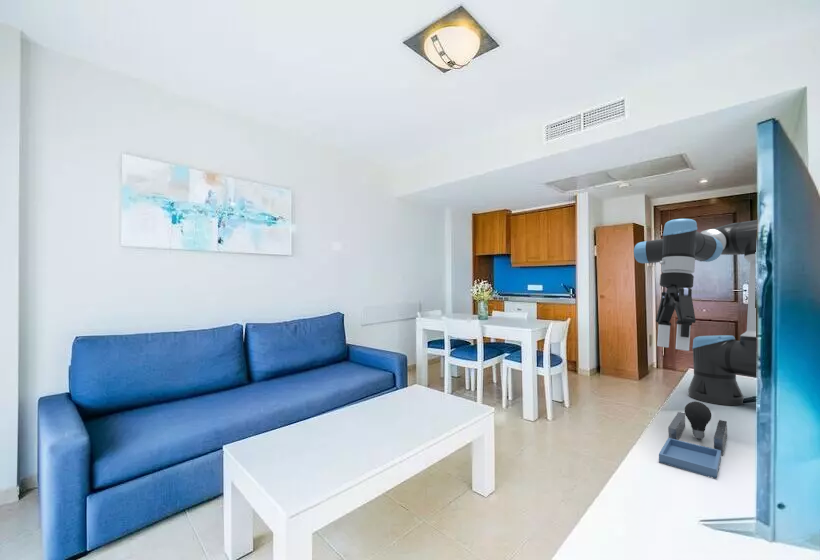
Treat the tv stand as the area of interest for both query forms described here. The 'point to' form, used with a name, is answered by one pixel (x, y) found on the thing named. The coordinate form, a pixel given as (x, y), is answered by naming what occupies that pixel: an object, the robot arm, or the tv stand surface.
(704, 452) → the parts tray
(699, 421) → the black round speckled part
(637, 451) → the tv stand surface
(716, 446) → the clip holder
